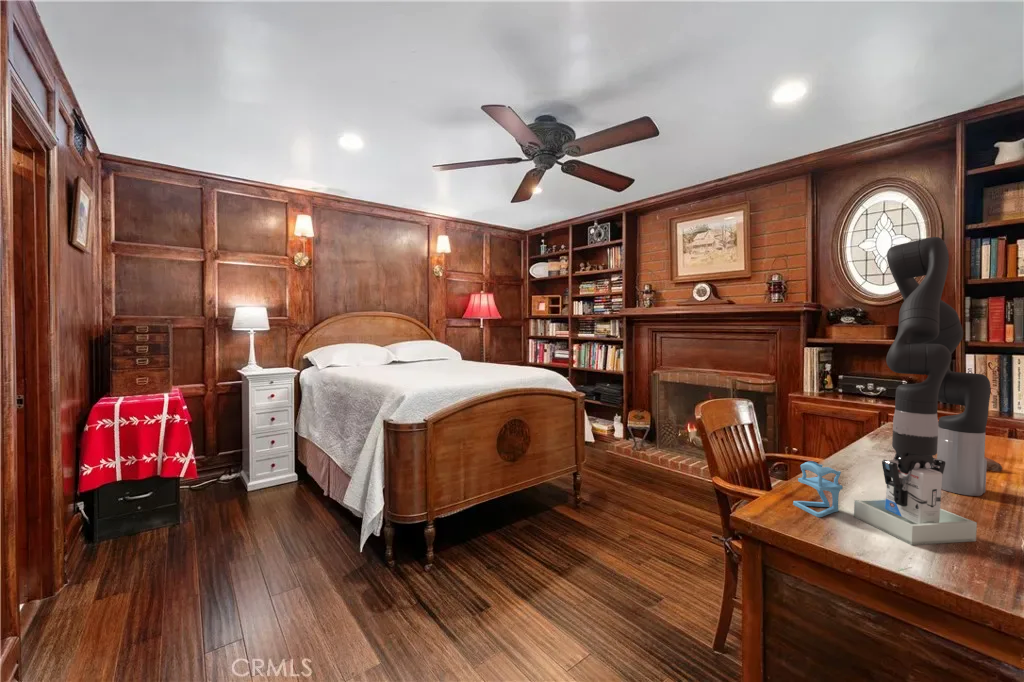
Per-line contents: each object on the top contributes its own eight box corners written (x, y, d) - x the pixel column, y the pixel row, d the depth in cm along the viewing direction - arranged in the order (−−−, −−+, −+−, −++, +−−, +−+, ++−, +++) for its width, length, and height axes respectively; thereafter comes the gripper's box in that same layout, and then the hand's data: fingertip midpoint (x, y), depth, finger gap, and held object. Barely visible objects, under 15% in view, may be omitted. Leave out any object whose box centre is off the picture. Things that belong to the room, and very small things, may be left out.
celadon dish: (911, 513, 107) (911, 497, 107) (976, 541, 93) (976, 522, 93) (853, 516, 105) (854, 500, 105) (911, 545, 91) (912, 526, 91)
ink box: (883, 509, 103) (885, 460, 103) (902, 508, 104) (904, 460, 103) (920, 526, 95) (922, 473, 94) (941, 525, 95) (943, 472, 95)
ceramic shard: (915, 442, 153) (957, 449, 152) (914, 461, 152) (956, 467, 152) (958, 449, 138) (1005, 456, 138) (957, 469, 137) (1004, 477, 137)
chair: (847, 515, 106) (849, 466, 105) (818, 517, 104) (819, 468, 104) (820, 502, 113) (821, 457, 113) (792, 504, 112) (793, 458, 112)
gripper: (925, 426, 103) (922, 496, 103) (870, 427, 101) (868, 499, 102) (961, 434, 95) (958, 510, 96) (903, 436, 94) (900, 513, 94)
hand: (911, 504), depth 99 cm, fingers closed on ink box, 5 cm apart
